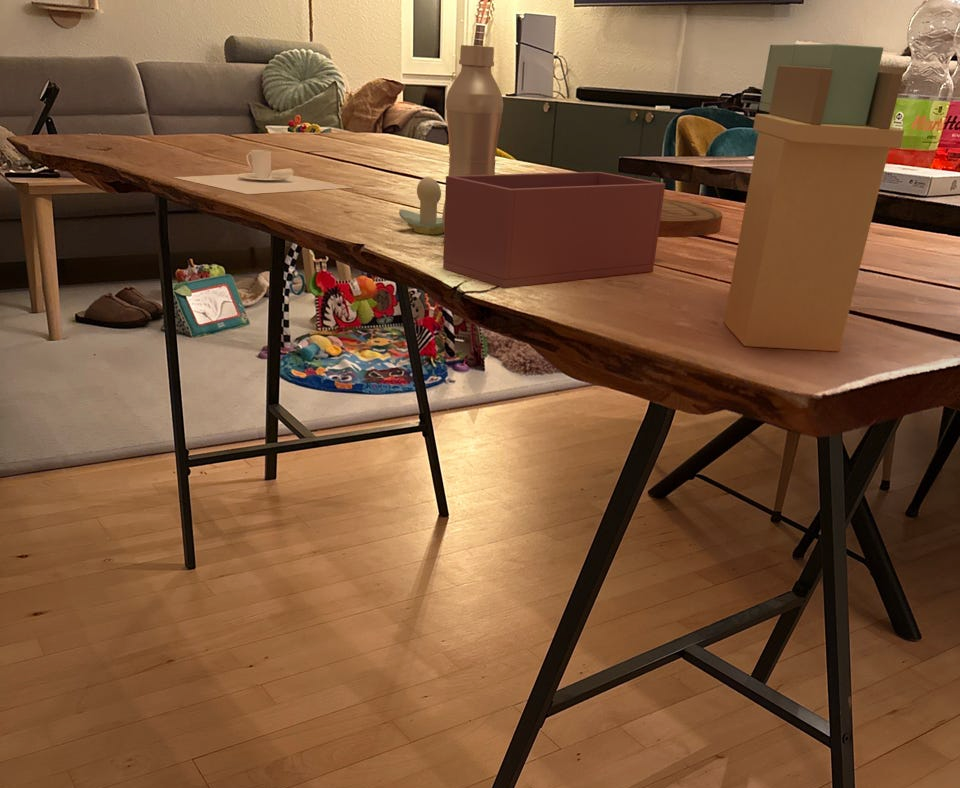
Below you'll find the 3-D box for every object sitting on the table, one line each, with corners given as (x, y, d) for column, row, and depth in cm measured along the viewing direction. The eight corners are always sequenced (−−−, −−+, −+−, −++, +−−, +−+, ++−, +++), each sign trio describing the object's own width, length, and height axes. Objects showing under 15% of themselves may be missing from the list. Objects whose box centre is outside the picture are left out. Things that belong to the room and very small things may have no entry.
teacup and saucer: (301, 182, 154) (300, 153, 151) (260, 184, 149) (258, 155, 146) (268, 175, 159) (267, 147, 156) (227, 177, 153) (225, 149, 151)
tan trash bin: (718, 317, 88) (764, 64, 78) (805, 322, 89) (862, 70, 78) (749, 352, 78) (807, 67, 68) (847, 358, 78) (919, 74, 68)
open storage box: (589, 254, 112) (598, 171, 108) (653, 271, 106) (665, 183, 101) (442, 268, 101) (445, 175, 96) (503, 288, 94) (510, 189, 90)
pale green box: (758, 109, 87) (770, 44, 84) (798, 112, 87) (811, 47, 84) (817, 123, 71) (834, 44, 69) (865, 126, 71) (884, 47, 69)
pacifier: (409, 226, 123) (394, 231, 118) (411, 172, 120) (395, 175, 115) (464, 232, 122) (451, 237, 117) (467, 177, 119) (454, 181, 114)
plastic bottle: (460, 250, 110) (468, 45, 100) (431, 239, 115) (436, 43, 105) (506, 247, 113) (519, 48, 103) (476, 237, 118) (485, 46, 108)
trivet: (576, 234, 124) (577, 218, 123) (523, 205, 145) (524, 191, 144) (751, 238, 130) (754, 223, 129) (677, 209, 151) (679, 196, 150)
